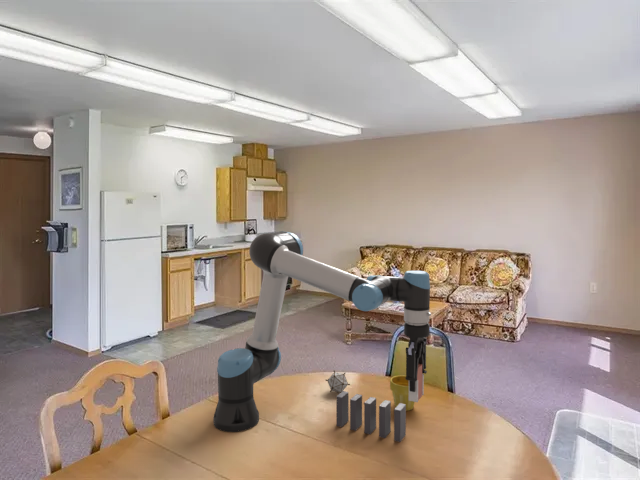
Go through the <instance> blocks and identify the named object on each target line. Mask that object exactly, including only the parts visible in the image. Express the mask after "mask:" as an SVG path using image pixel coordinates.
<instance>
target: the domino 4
mask: <svg viewBox="0 0 640 480" xmlns="http://www.w3.org/2000/svg"><path fill="white" fill-rule="evenodd" d="M391 403H392V402H391V401H390V400H387V399H384V400H383V401H382V402H381V403H380V405H379V406H378V414H379V415H378V437H379V438H382V439H386V438H387V436H388V435H389V434H390V433H391V430H392V428H391V426H392V425H391V424H392V423H391V422H392V417H391V416H392V414H391V412H392V409H391V408H392V407H391V406H392V404H391Z"/></svg>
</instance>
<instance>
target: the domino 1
mask: <svg viewBox="0 0 640 480" xmlns="http://www.w3.org/2000/svg"><path fill="white" fill-rule="evenodd" d="M335 400H336V402H335V403H336V417H335V418H336V419H335V420H336V427H340V428H343V427H344V426H345V425H346V424H348V422H350V403H349V391H345V390H343V391H342V392H341V393H338V395H336V398H335Z"/></svg>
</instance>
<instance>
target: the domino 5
mask: <svg viewBox="0 0 640 480" xmlns="http://www.w3.org/2000/svg"><path fill="white" fill-rule="evenodd" d="M393 416H394V417H393V422H394V423H393V441H394V442H398V443H401V442H402V441H403V439H404V438H405V437H406V433H407V429H406V427H407V426H406V424H407V420H406V419H407V411H406V404H402V403H399V404H398V406H397V407H394V409H393Z"/></svg>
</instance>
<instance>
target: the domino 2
mask: <svg viewBox="0 0 640 480" xmlns="http://www.w3.org/2000/svg"><path fill="white" fill-rule="evenodd" d="M362 425H363V394H358V393H356V394H354V395H353V397H351V398H350V399H349V430H351V431H355V432H356V431H357V430H358V429H359V428H360V427H361V426H362Z"/></svg>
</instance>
